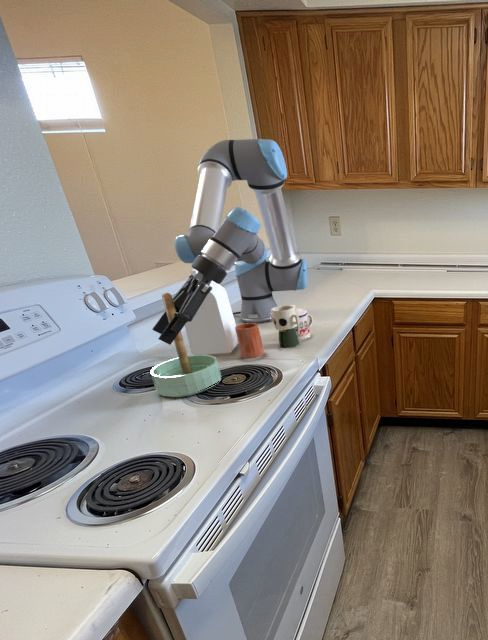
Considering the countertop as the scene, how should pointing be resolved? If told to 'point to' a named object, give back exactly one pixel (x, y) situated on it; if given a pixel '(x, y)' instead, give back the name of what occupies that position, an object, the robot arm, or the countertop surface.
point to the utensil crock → (249, 340)
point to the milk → (212, 324)
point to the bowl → (186, 376)
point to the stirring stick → (179, 339)
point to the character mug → (285, 325)
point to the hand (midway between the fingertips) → (161, 336)
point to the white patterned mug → (302, 323)
